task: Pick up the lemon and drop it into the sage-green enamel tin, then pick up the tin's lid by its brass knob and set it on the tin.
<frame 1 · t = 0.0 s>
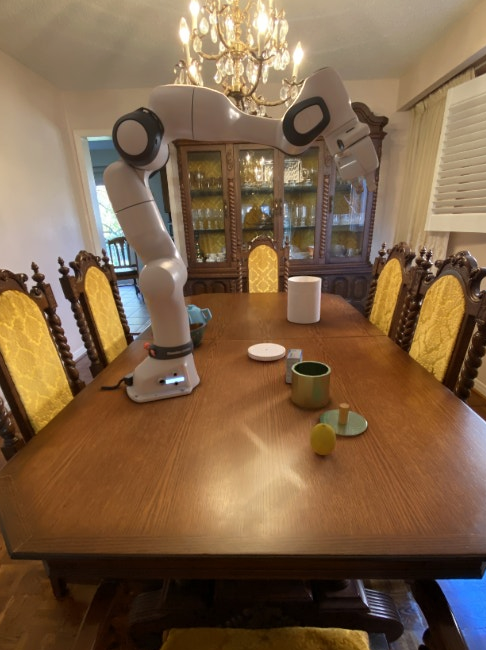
hand: (366, 192, 92), 54 cm above the table, tool tilted 30°, fingers open, 8 cm apart
dark green pot: (181, 348, 141), on the table
canister: (303, 319, 175), on the table
medicine box: (294, 378, 112), on the table
tin: (309, 400, 98), on the table
teapot: (191, 327, 167), on the table
lid: (342, 423, 86), point 1 cm above the table
plastic lid: (266, 356, 130), on the table
lemon: (321, 455, 76), on the table
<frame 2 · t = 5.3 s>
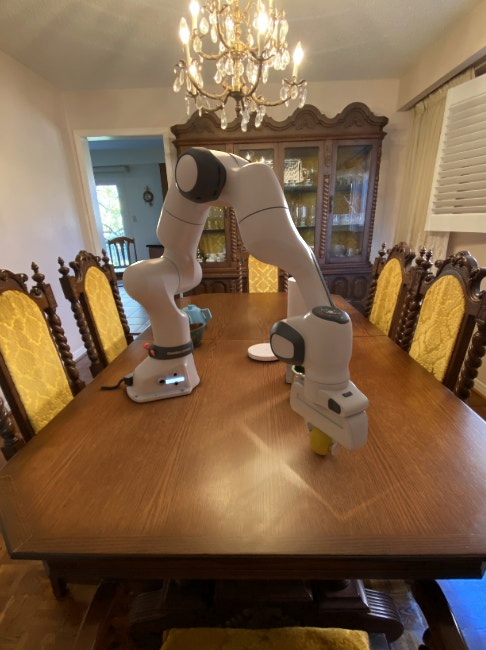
hand: (322, 444, 75), 3 cm above the table, tool pointing down, fingers closed on lemon, 5 cm apart
lemon: (321, 455, 76), on the table, touching gripper
everything else where it was.
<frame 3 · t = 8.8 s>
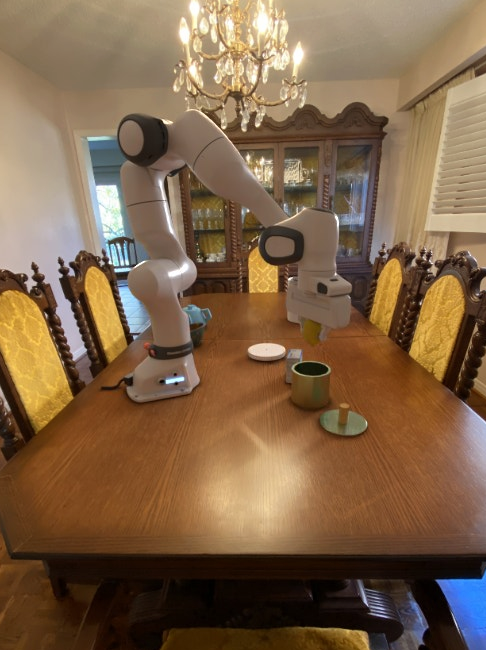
hand: (313, 336, 87), 21 cm above the table, tool pointing down, fingers closed on lemon, 5 cm apart
lemon: (312, 347, 88), point 18 cm above the table, touching gripper
everything else where it was.
when the fingers open (11 cm above the table, at t = 12.3 s): lemon drops 8 cm, resting on tin.
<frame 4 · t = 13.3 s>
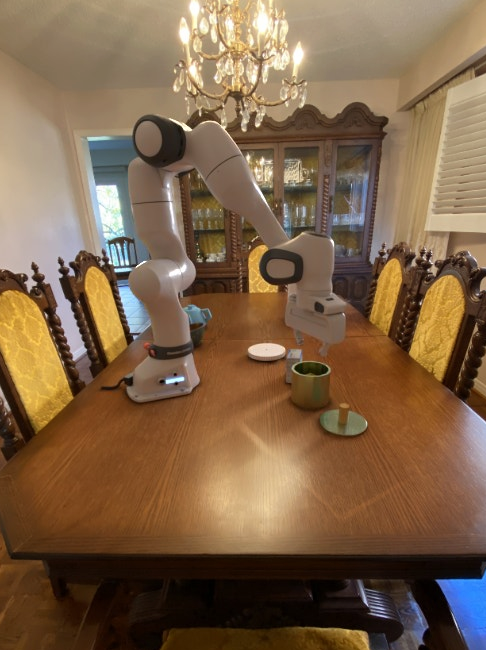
hand: (310, 350, 93), 15 cm above the table, tool pointing down, fingers open, 8 cm apart
lemon: (309, 399, 98), resting on tin
everything else where it was.
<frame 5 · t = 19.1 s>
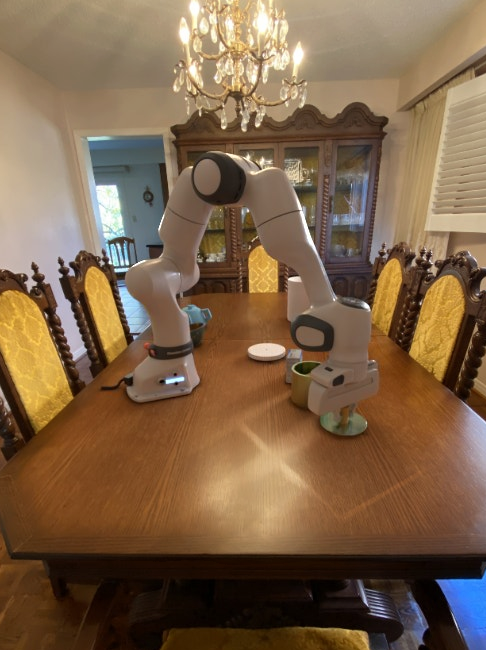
hand: (343, 418, 86), 2 cm above the table, tool pointing down, fingers closed on lid, 2 cm apart
lid: (342, 423, 86), point 1 cm above the table, touching gripper
everything else where it was.
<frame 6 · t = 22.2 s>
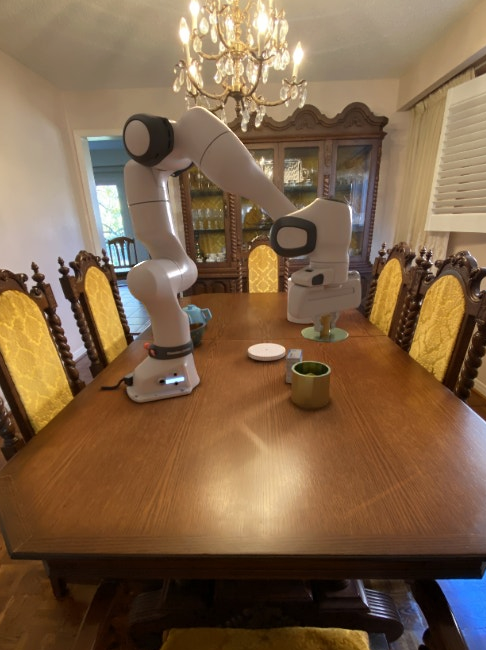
hand: (324, 330, 85), 22 cm above the table, tool pointing down, fingers closed on lid, 2 cm apart
lid: (324, 334, 86), point 21 cm above the table, touching gripper
everything else where it was.
when the fingers open (11 cm above the table, at t = 25.8 s): lid stays where it is, resting on tin.
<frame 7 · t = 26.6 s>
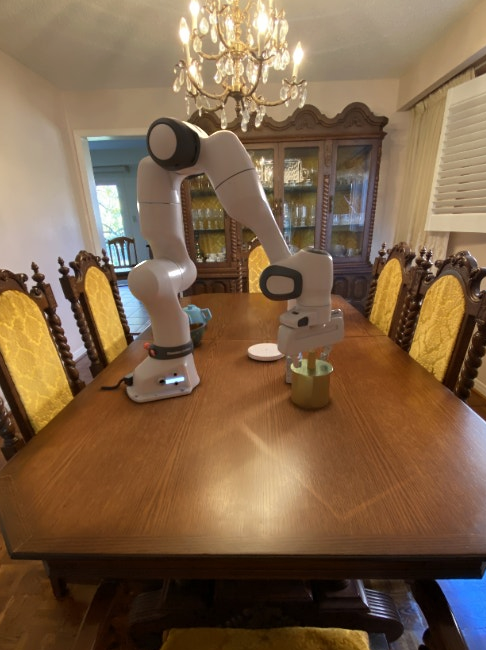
hand: (311, 363, 94), 12 cm above the table, tool pointing down, fingers open, 8 cm apart
lid: (311, 368, 94), point 10 cm above the table, touching tin
everything else where it was.
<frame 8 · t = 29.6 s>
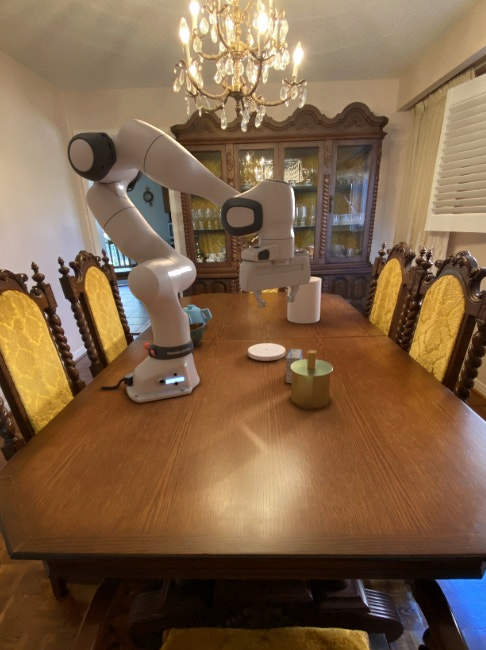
hand: (276, 304, 92), 27 cm above the table, tool pointing down, fingers open, 8 cm apart
nothing on the table moved.
at the end: lemon 0.2 cm off-centre in the tin, point 0.3 cm above the tin's base; lid 0.1 cm off-centre on the tin, point 10.0 cm above the tin's base; lid tilted 0° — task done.
